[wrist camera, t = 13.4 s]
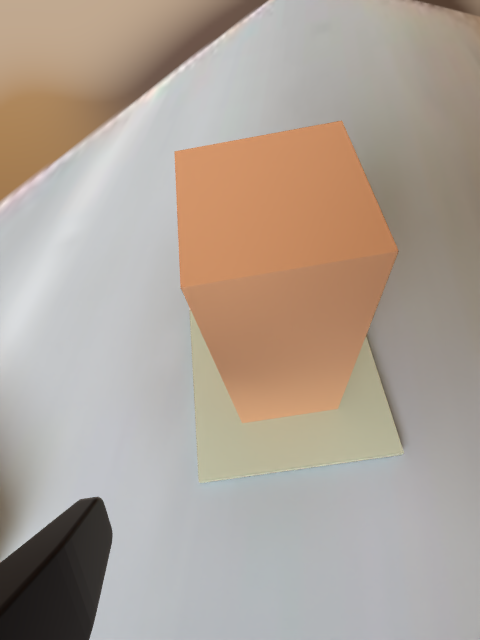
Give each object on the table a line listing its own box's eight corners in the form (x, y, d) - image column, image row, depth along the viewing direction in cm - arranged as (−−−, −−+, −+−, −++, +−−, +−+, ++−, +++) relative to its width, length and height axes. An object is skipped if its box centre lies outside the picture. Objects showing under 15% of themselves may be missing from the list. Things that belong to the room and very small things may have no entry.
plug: (316, 325, 17) (342, 120, 9) (337, 408, 15) (398, 251, 7) (231, 338, 17) (174, 151, 9) (242, 423, 15) (180, 288, 7)
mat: (348, 288, 19) (349, 284, 18) (401, 455, 15) (404, 453, 14) (191, 313, 19) (189, 309, 19) (200, 483, 15) (198, 481, 15)
